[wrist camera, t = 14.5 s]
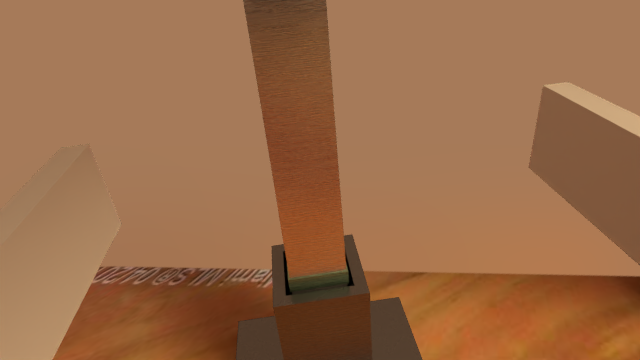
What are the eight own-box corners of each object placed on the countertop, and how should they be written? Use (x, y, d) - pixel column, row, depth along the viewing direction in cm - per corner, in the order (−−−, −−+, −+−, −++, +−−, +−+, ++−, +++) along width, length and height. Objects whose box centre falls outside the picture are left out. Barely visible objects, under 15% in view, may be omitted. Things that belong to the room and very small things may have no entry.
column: (353, 295, 34) (325, -130, 20) (368, 354, 29) (345, -152, 15) (285, 305, 34) (207, -119, 20) (288, 367, 29) (189, -138, 15)
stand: (398, 307, 43) (399, 190, 36) (462, 482, 29) (484, 347, 22) (241, 331, 42) (210, 216, 35) (230, 523, 28) (175, 396, 21)
